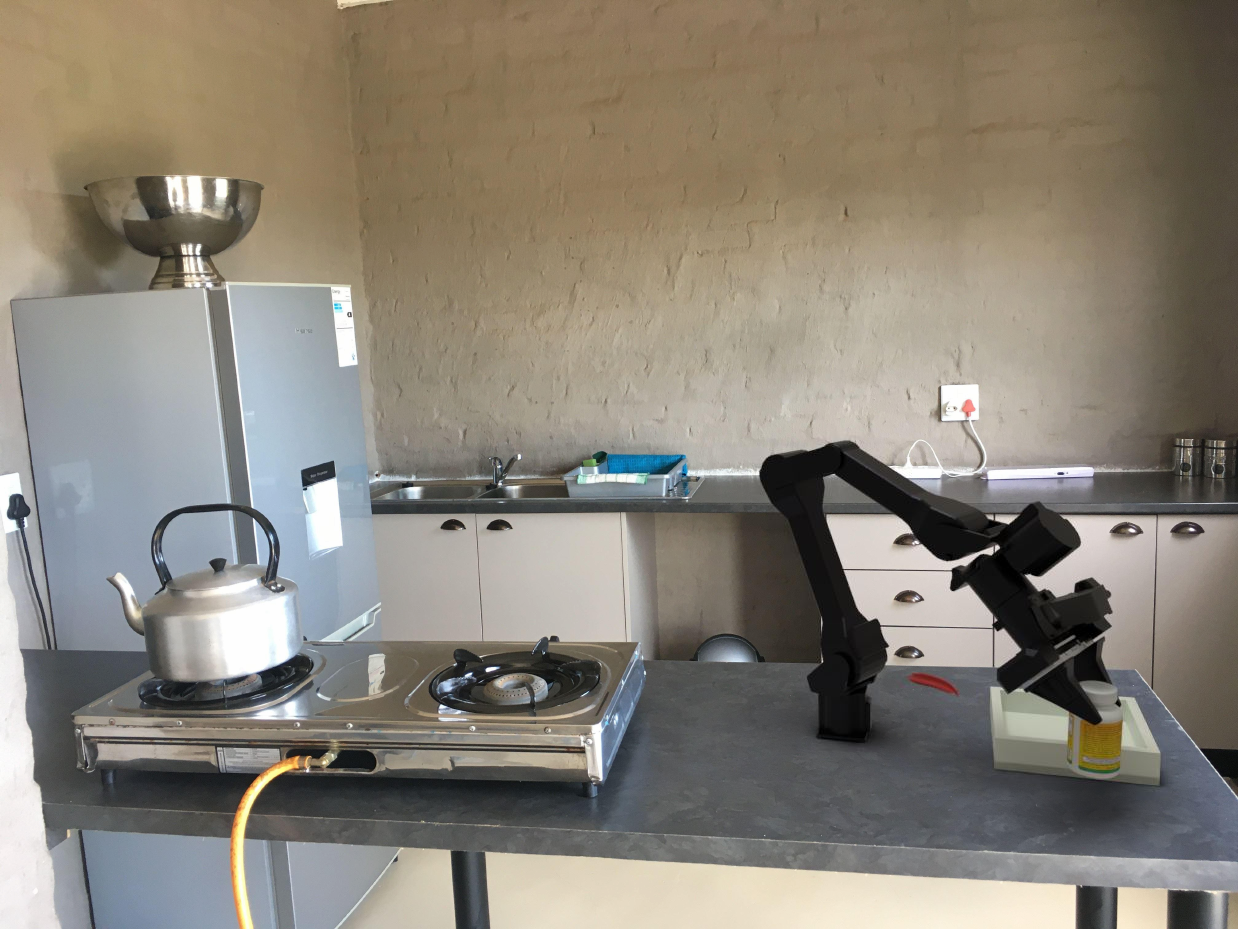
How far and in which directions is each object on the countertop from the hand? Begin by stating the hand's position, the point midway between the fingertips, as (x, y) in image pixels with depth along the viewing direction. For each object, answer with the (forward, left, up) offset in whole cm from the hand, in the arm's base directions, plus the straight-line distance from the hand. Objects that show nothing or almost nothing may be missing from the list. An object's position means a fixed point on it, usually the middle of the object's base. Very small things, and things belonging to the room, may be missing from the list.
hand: (1108, 715), depth 107 cm
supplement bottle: (-1, +1, -7) cm, 7 cm away
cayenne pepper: (-19, +36, -12) cm, 43 cm away
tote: (-2, +18, -11) cm, 21 cm away
